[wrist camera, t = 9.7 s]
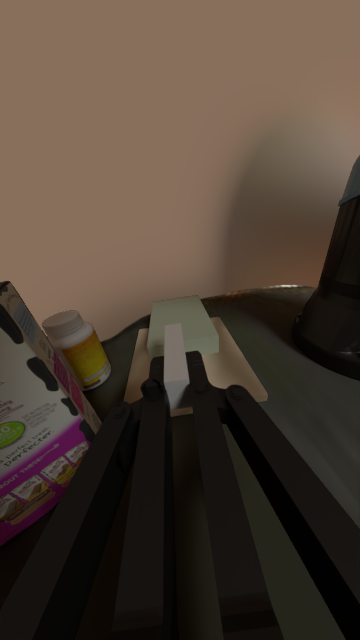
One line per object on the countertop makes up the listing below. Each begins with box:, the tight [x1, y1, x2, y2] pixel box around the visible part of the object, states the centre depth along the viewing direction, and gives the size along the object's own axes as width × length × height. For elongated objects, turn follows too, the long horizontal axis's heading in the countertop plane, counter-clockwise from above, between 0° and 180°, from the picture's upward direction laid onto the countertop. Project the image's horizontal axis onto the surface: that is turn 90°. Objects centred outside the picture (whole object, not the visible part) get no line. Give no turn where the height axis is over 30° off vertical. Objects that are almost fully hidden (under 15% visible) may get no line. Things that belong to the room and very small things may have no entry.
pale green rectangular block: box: [147, 295, 219, 361], centre depth 31 cm, size 10×3×16 cm
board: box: [123, 317, 268, 417], centre depth 26 cm, size 16×18×1 cm
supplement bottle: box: [42, 310, 111, 391], centre depth 23 cm, size 6×6×10 cm
